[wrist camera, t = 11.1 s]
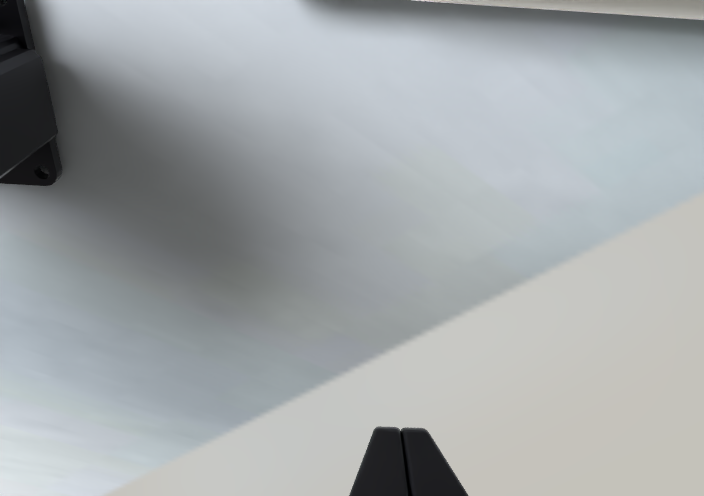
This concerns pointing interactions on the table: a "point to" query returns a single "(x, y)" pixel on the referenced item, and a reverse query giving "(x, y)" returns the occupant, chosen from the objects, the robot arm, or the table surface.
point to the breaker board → (604, 6)
